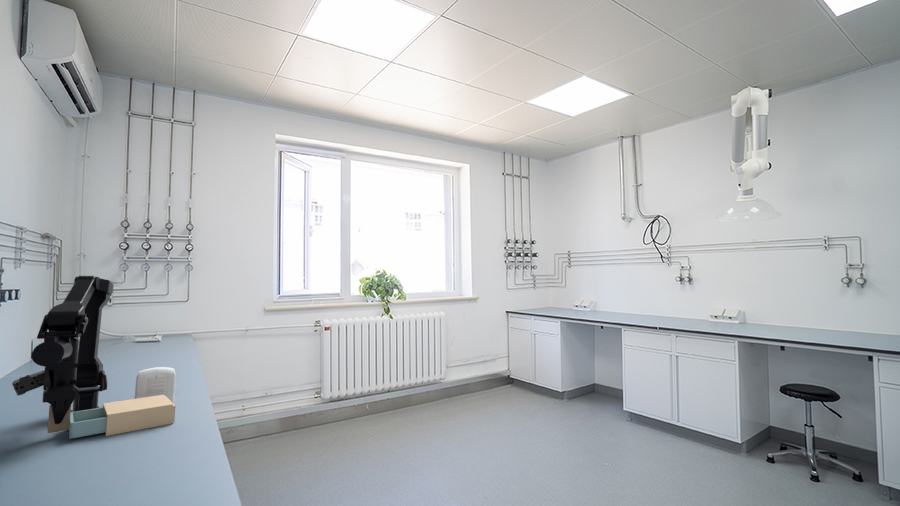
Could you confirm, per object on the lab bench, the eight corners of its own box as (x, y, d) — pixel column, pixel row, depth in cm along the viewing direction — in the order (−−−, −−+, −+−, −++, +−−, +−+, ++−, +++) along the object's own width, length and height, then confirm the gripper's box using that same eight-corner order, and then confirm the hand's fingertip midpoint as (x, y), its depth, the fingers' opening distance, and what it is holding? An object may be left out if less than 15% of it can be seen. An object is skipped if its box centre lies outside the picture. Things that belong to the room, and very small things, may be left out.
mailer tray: (47, 430, 107) (49, 400, 108) (134, 415, 120) (136, 389, 120) (46, 442, 98) (49, 411, 99) (140, 425, 111) (142, 397, 111)
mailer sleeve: (101, 422, 115) (103, 403, 116) (164, 411, 125) (165, 394, 126) (106, 435, 105) (107, 414, 106) (174, 423, 115) (175, 403, 116)
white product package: (174, 403, 134) (176, 364, 135) (174, 407, 130) (176, 366, 131) (134, 408, 128) (136, 368, 129) (133, 412, 125) (135, 370, 126)
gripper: (19, 358, 107) (13, 421, 105) (14, 369, 93) (8, 441, 92) (77, 353, 114) (73, 412, 113) (80, 363, 101) (75, 429, 100)
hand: (57, 422), depth 104 cm, fingers closed on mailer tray
